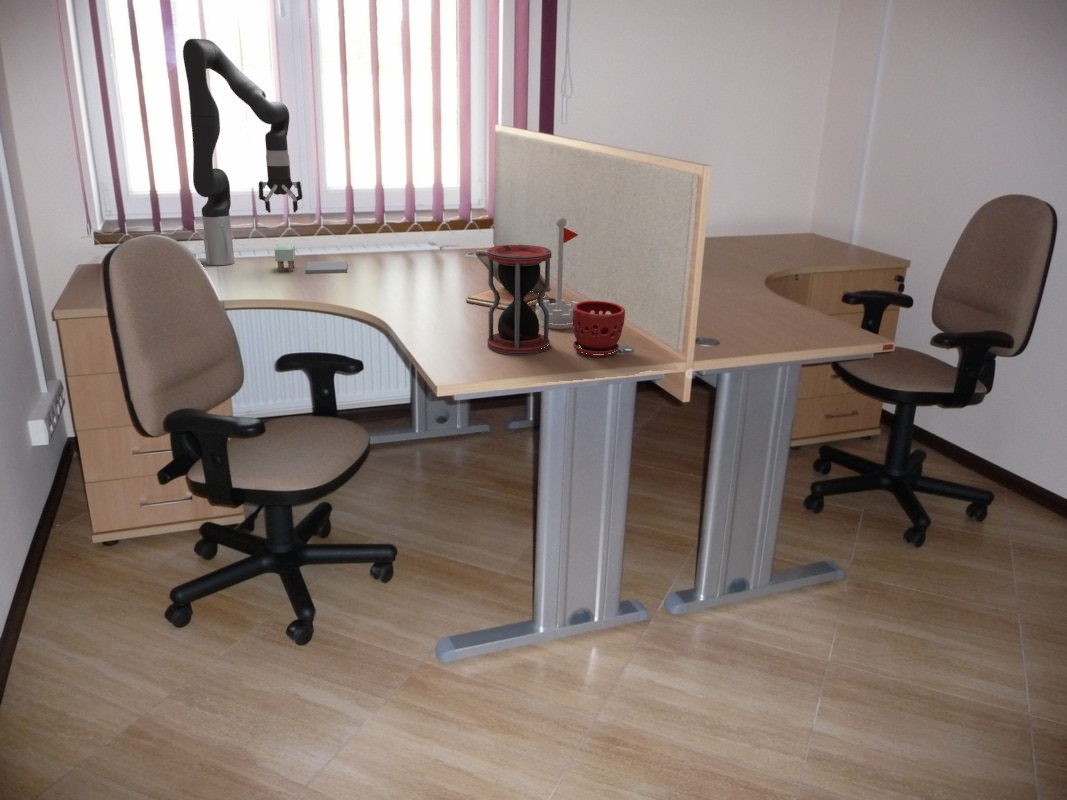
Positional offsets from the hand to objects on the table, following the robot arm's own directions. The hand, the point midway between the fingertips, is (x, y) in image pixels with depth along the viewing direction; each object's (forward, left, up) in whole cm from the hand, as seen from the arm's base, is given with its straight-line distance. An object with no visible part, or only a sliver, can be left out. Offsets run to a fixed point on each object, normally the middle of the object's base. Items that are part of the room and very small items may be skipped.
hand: (282, 212), depth 297 cm
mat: (+14, 0, -20) cm, 24 cm away
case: (+71, -53, -21) cm, 91 cm away
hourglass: (+66, -101, -20) cm, 123 cm away
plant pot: (+85, -109, -20) cm, 140 cm away
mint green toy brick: (0, 0, -20) cm, 20 cm away
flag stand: (+81, -81, -20) cm, 116 cm away
